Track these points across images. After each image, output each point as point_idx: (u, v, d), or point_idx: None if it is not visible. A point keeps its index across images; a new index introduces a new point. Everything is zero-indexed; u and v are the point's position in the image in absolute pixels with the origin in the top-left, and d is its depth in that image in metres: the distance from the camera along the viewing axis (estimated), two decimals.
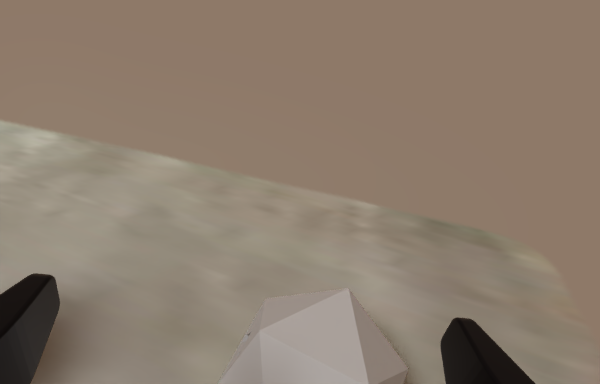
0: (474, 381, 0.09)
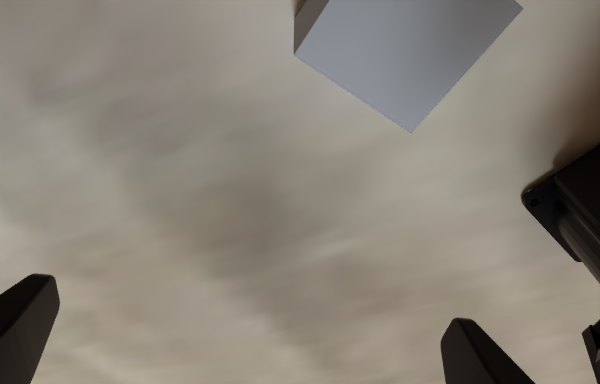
0: (474, 381, 0.09)
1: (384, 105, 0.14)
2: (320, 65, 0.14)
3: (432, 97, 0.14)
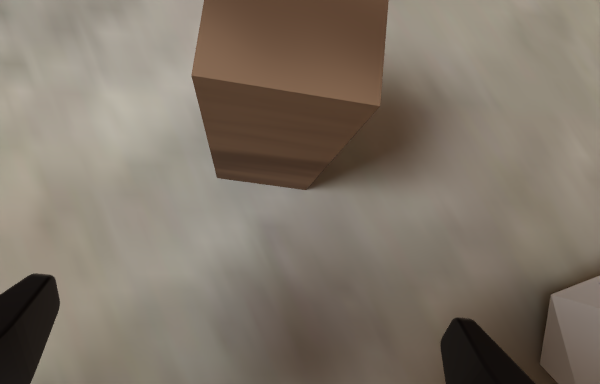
0: (474, 381, 0.09)
1: None
2: None
3: None
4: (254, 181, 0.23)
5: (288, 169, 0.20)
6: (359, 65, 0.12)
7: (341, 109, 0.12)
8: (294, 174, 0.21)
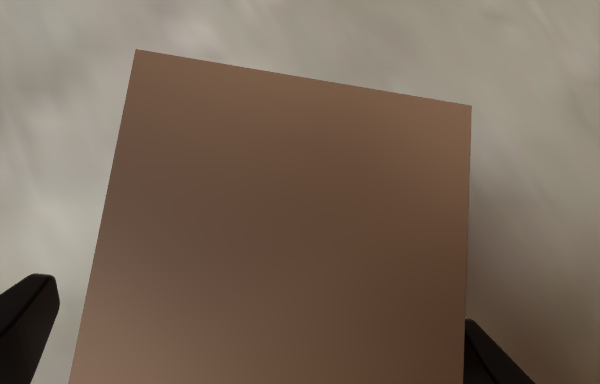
0: (474, 381, 0.09)
1: None
2: None
3: None
4: None
5: None
6: (416, 374, 0.06)
7: None
8: None
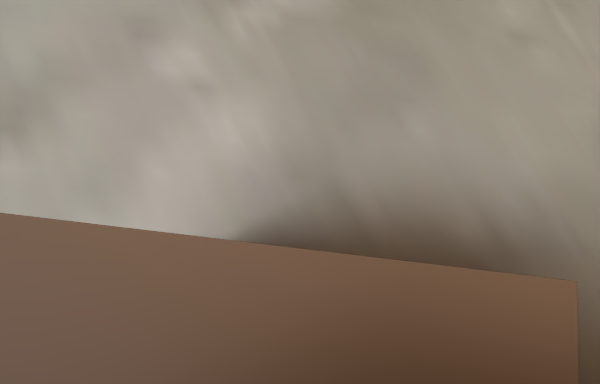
0: None
1: None
2: None
3: None
4: None
5: None
6: None
7: None
8: None
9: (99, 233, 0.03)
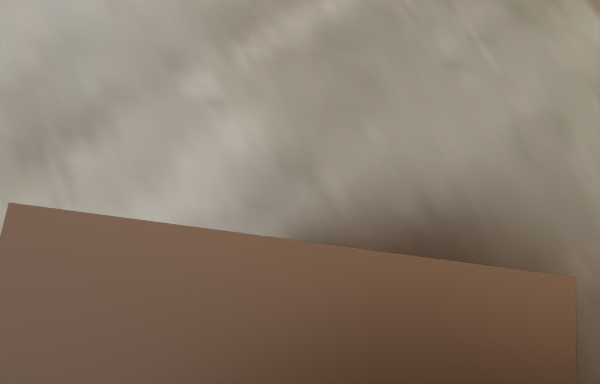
0: None
1: None
2: None
3: None
4: None
5: None
6: None
7: None
8: None
9: (111, 224, 0.04)
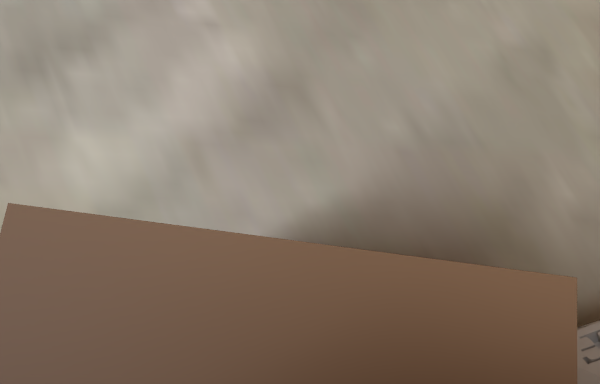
0: None
1: None
2: None
3: None
4: None
5: None
6: None
7: None
8: None
9: (111, 225, 0.04)
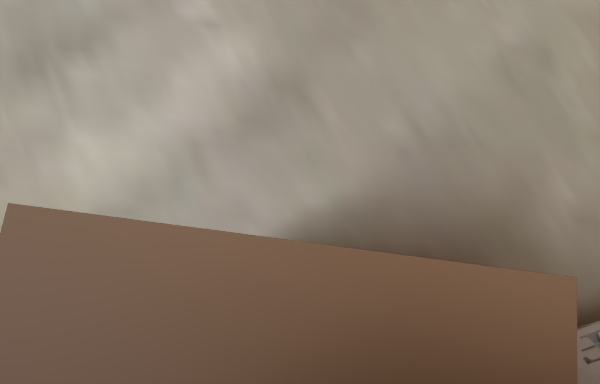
0: None
1: None
2: None
3: None
4: None
5: None
6: None
7: None
8: None
9: (110, 225, 0.04)
